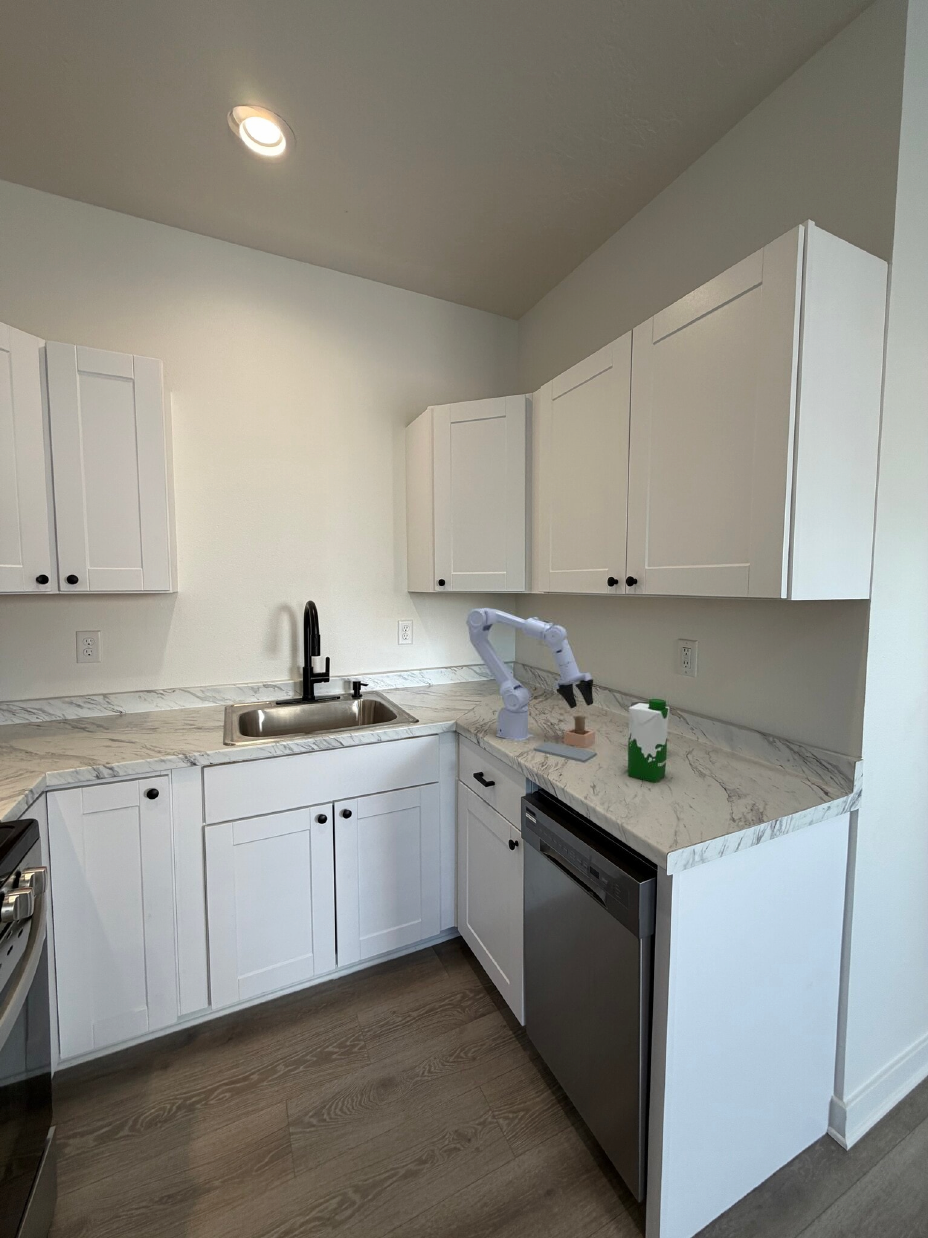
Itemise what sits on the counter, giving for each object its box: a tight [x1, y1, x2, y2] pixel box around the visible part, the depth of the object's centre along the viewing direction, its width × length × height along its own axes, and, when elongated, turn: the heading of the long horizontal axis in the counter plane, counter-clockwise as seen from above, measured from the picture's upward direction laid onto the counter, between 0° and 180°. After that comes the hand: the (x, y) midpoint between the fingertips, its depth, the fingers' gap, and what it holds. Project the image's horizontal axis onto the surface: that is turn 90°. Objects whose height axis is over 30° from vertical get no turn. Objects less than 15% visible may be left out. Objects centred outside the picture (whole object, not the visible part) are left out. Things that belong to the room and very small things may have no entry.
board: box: [533, 741, 598, 764], centre depth 149 cm, size 16×8×1 cm, turn 52°
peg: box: [574, 715, 586, 735], centre depth 158 cm, size 3×3×8 cm
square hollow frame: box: [563, 726, 596, 749], centre depth 159 cm, size 7×7×4 cm
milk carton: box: [627, 698, 670, 784], centre depth 132 cm, size 9×9×20 cm
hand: (582, 706), depth 156 cm, fingers open, 7 cm apart
